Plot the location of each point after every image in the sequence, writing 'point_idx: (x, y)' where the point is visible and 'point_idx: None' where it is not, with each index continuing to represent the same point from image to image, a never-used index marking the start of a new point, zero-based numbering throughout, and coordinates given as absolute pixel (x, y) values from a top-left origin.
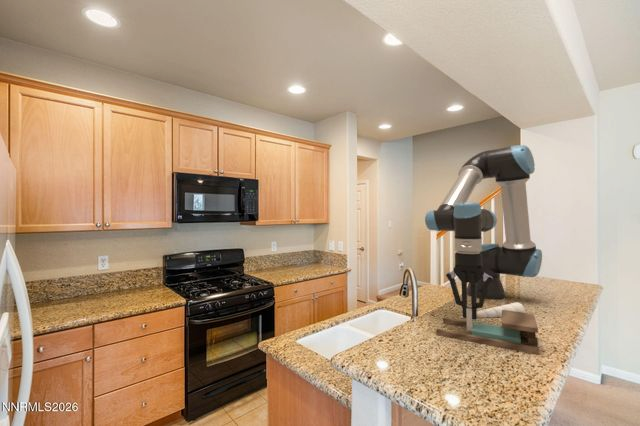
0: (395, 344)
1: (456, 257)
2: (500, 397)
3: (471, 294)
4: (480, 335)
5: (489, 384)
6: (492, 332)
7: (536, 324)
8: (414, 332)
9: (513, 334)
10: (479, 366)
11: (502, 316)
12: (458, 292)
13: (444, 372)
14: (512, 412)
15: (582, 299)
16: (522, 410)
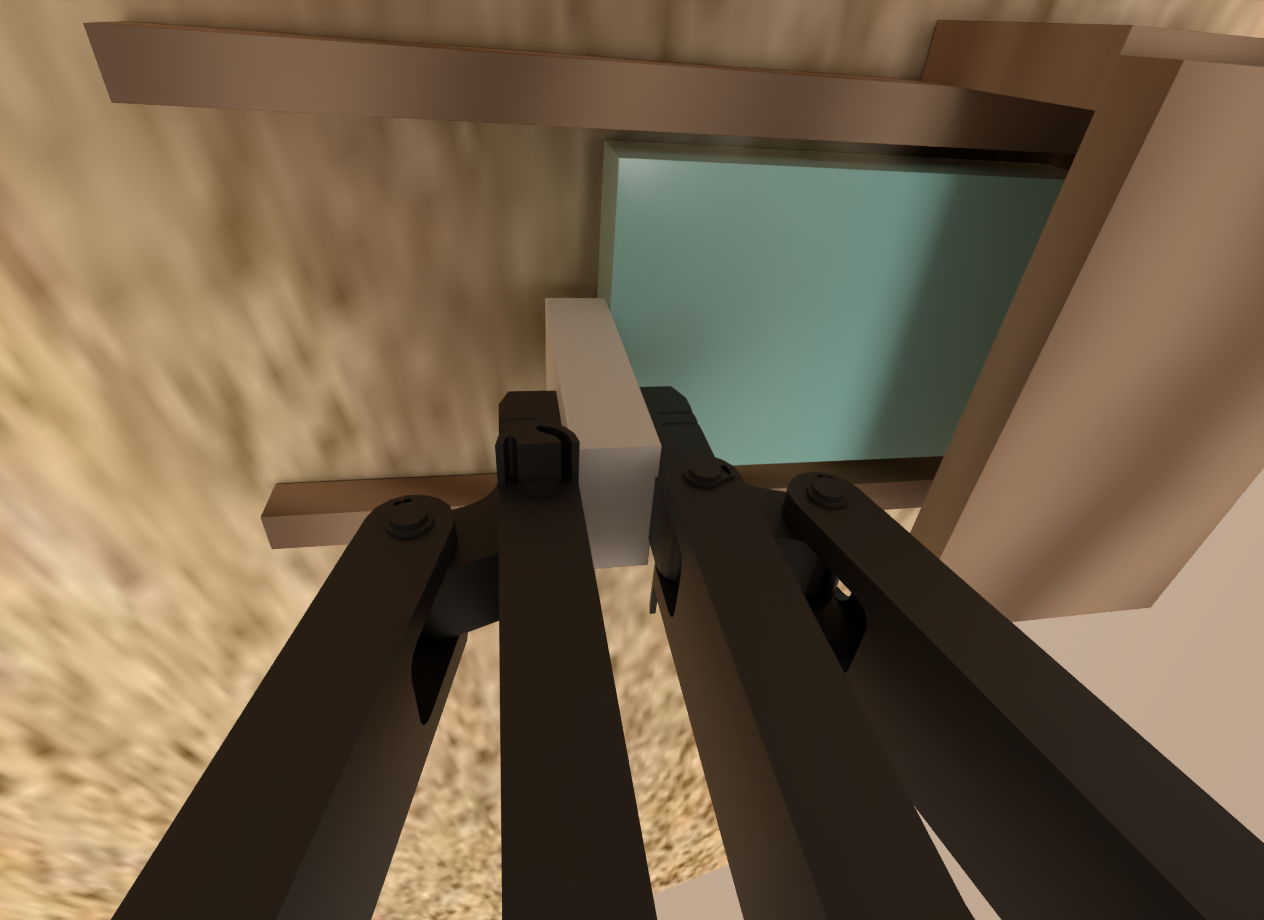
0: (133, 771)
1: None
2: (702, 827)
3: (717, 802)
4: None
5: (676, 798)
6: (789, 425)
7: (1215, 525)
8: (75, 564)
9: (967, 377)
10: (645, 728)
11: (999, 452)
12: (376, 699)
13: None
14: (722, 852)
15: None
16: None
